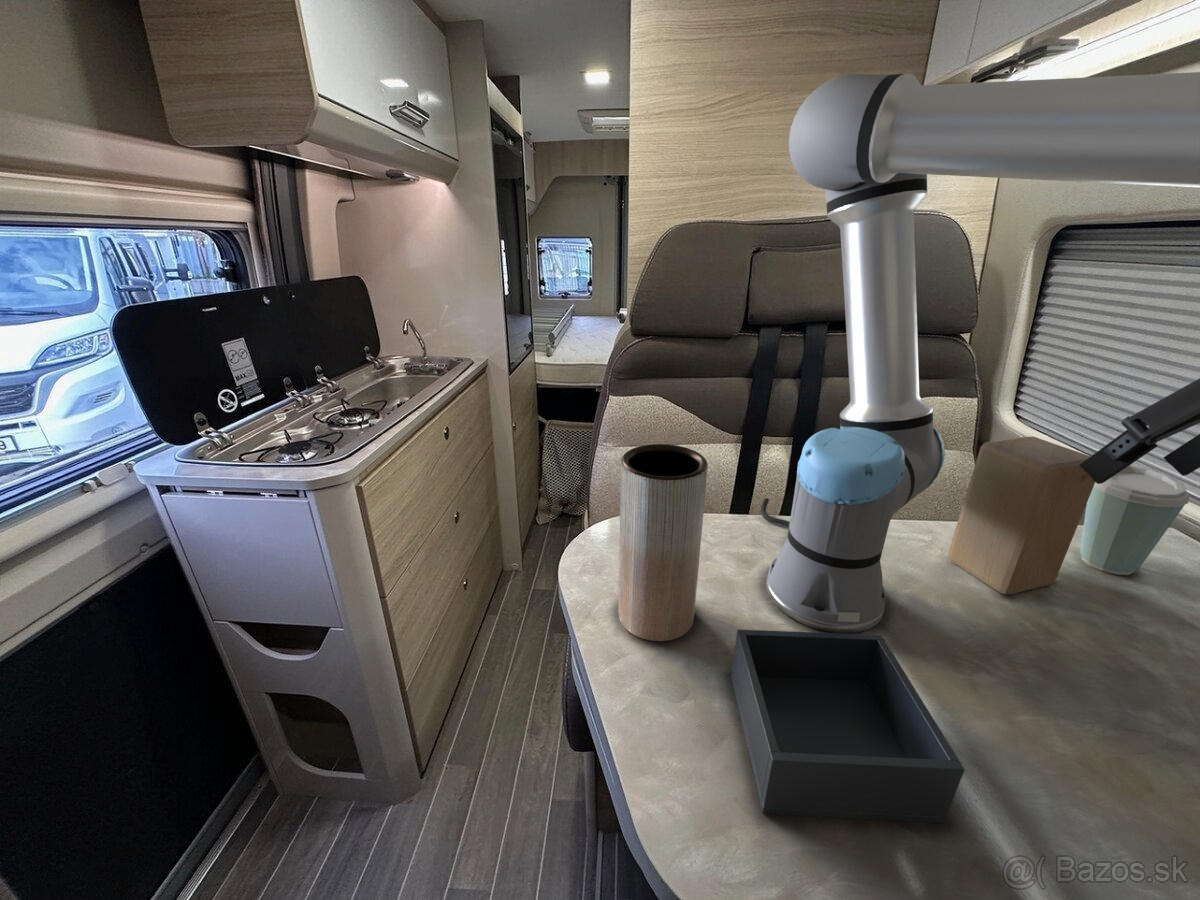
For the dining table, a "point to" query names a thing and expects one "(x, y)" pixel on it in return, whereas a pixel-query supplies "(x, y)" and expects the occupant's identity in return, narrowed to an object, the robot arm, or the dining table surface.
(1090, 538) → the disposable coffee cup
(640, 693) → the dining table surface
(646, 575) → the planter
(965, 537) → the wooden block
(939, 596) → the dining table surface
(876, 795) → the tote
